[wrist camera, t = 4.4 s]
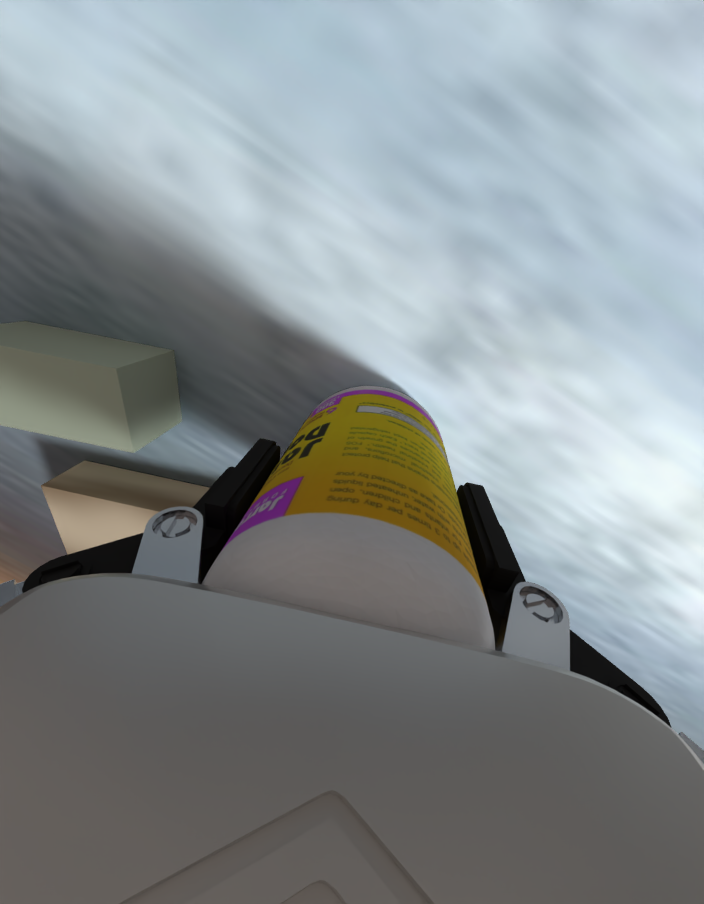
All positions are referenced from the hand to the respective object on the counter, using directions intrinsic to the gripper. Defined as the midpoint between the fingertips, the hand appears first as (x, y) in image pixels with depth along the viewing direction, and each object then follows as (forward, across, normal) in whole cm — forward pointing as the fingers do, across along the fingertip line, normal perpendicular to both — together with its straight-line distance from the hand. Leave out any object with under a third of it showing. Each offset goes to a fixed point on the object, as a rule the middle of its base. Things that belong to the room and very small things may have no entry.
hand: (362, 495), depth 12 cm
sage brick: (+4, +13, -1) cm, 14 cm away
